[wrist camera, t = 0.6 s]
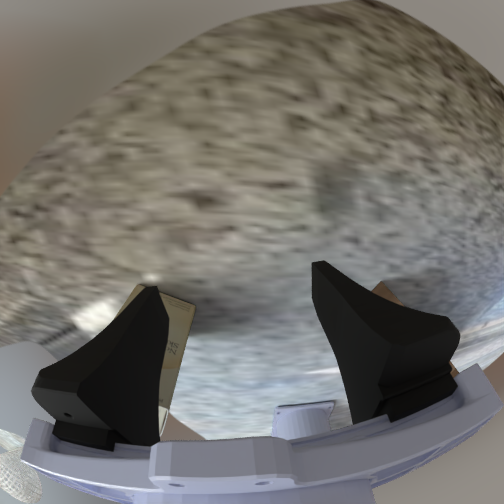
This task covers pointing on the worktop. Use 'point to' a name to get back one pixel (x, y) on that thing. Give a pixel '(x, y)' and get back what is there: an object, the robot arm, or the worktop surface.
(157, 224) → the worktop surface
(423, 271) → the worktop surface
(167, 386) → the skincare box
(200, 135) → the worktop surface
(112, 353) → the robot arm
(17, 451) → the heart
